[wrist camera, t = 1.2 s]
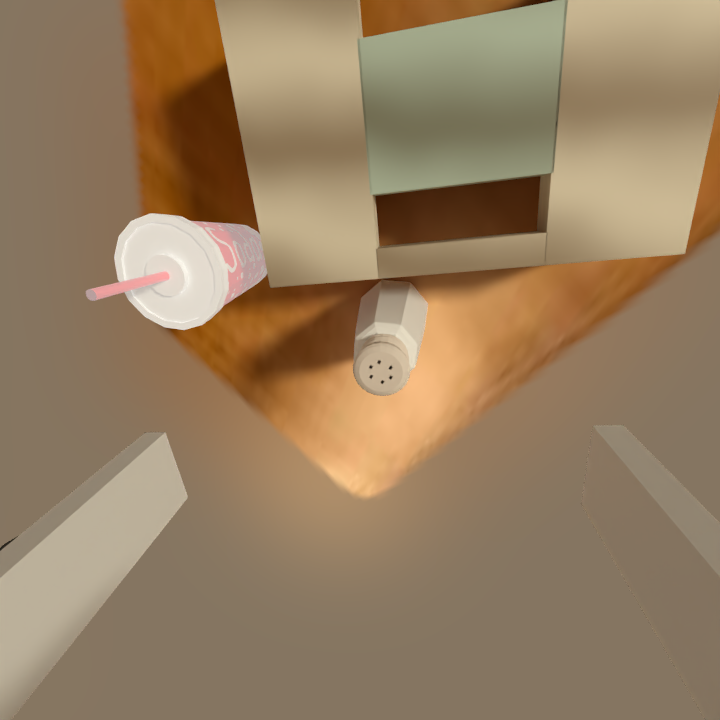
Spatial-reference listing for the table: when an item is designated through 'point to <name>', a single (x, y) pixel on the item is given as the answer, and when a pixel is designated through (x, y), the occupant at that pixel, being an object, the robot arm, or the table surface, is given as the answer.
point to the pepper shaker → (388, 336)
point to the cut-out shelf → (577, 209)
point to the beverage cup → (184, 268)
